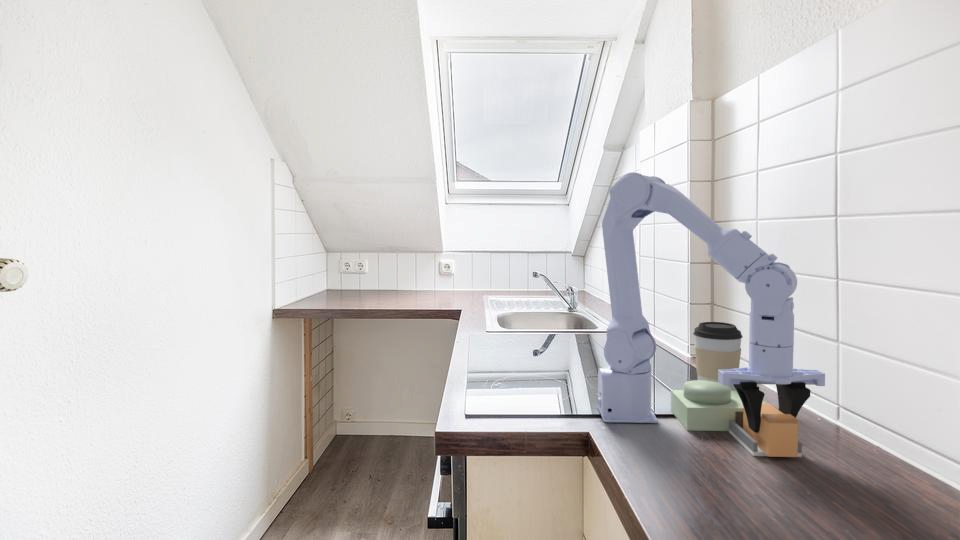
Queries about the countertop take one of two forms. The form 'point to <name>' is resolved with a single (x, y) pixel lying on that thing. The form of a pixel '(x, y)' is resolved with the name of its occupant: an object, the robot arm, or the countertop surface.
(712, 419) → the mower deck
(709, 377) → the coffee cup
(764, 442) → the orange stepped block
